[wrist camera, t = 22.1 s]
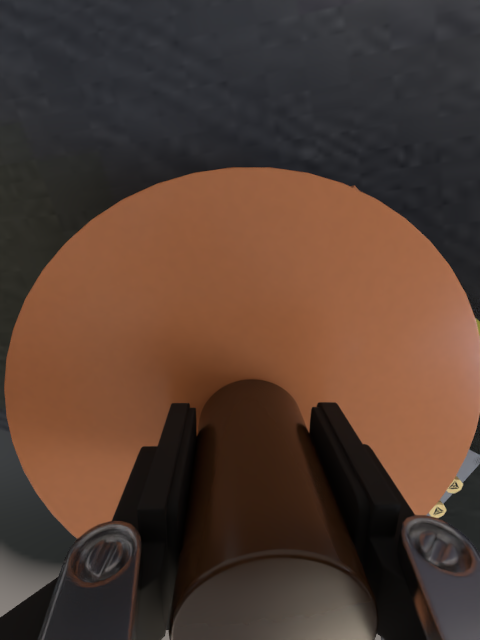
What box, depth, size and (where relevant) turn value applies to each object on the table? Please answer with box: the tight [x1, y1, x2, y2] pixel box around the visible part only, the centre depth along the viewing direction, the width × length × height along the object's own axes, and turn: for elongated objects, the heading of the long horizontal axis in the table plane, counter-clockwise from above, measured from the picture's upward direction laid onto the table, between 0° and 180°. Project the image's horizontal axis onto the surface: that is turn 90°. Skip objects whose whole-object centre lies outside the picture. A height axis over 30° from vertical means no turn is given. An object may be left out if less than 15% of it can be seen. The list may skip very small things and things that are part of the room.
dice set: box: [427, 475, 463, 518], centre depth 27 cm, size 5×5×2 cm
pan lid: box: [4, 167, 480, 640], centre depth 9 cm, size 17×17×7 cm
